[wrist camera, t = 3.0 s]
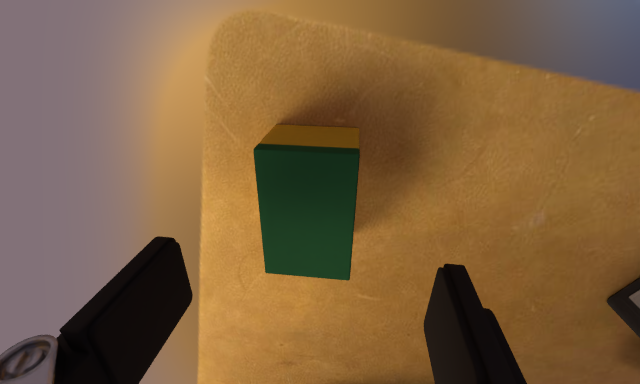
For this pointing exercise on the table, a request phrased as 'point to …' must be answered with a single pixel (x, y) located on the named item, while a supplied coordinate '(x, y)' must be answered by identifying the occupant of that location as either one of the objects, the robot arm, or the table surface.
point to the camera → (628, 305)
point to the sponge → (308, 199)
